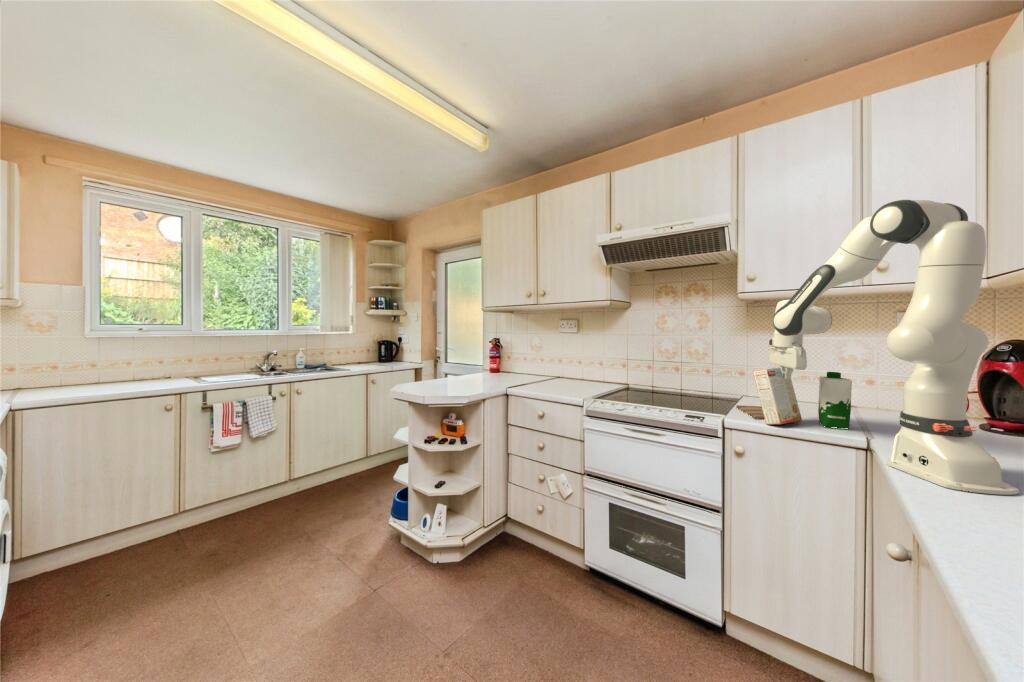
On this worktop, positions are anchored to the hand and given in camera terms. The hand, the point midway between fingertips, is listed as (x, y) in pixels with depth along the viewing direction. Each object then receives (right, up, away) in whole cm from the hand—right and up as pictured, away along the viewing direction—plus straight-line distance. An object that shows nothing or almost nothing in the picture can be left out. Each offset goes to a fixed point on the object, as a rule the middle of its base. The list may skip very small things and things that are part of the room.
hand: (786, 378), depth 141 cm
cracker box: (0, -17, +1) cm, 17 cm away
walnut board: (+4, -17, +17) cm, 24 cm away
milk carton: (+16, -18, -2) cm, 24 cm away
